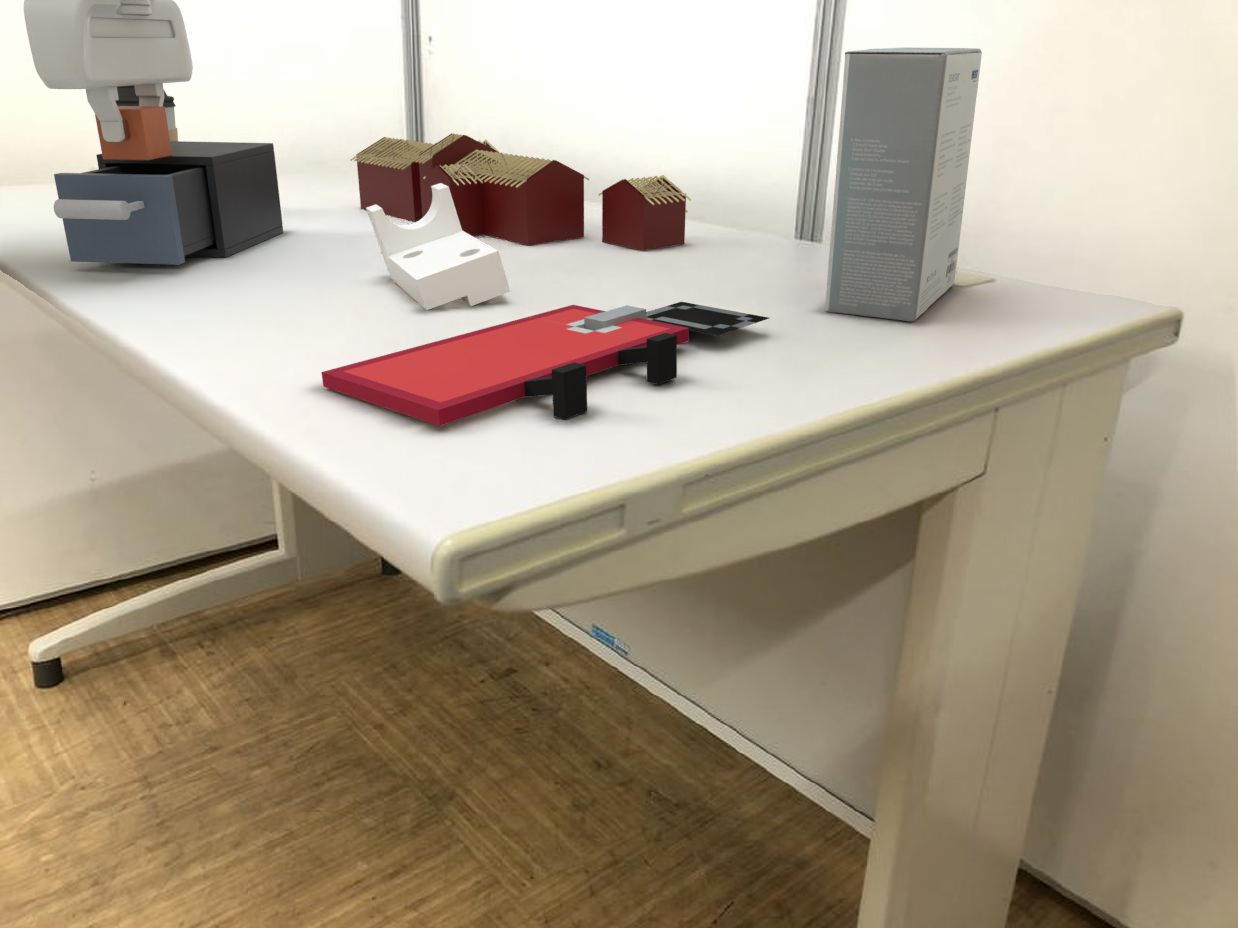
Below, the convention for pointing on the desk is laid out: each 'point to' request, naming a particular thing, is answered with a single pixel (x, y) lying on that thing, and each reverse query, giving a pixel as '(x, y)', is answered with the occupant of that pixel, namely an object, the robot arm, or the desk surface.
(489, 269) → the bracket
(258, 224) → the cabinet
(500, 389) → the red board with handle
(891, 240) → the hard drive box
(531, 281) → the desk surface
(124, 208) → the drawer
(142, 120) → the block
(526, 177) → the toy houses
